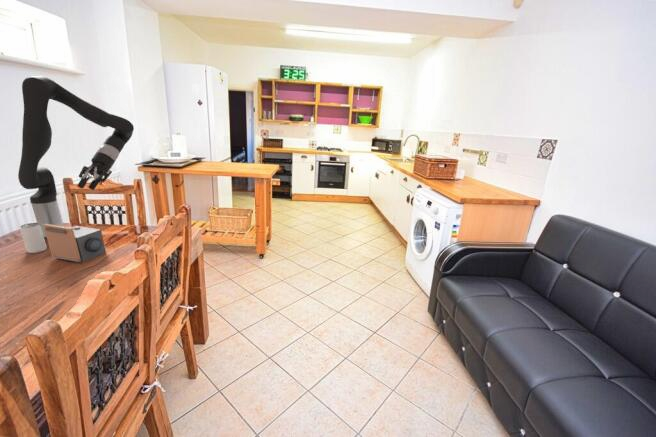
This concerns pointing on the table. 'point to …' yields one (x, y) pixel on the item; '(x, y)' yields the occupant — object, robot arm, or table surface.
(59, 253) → the side door
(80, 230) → the camera body
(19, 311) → the table surface
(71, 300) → the table surface
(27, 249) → the can
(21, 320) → the table surface
